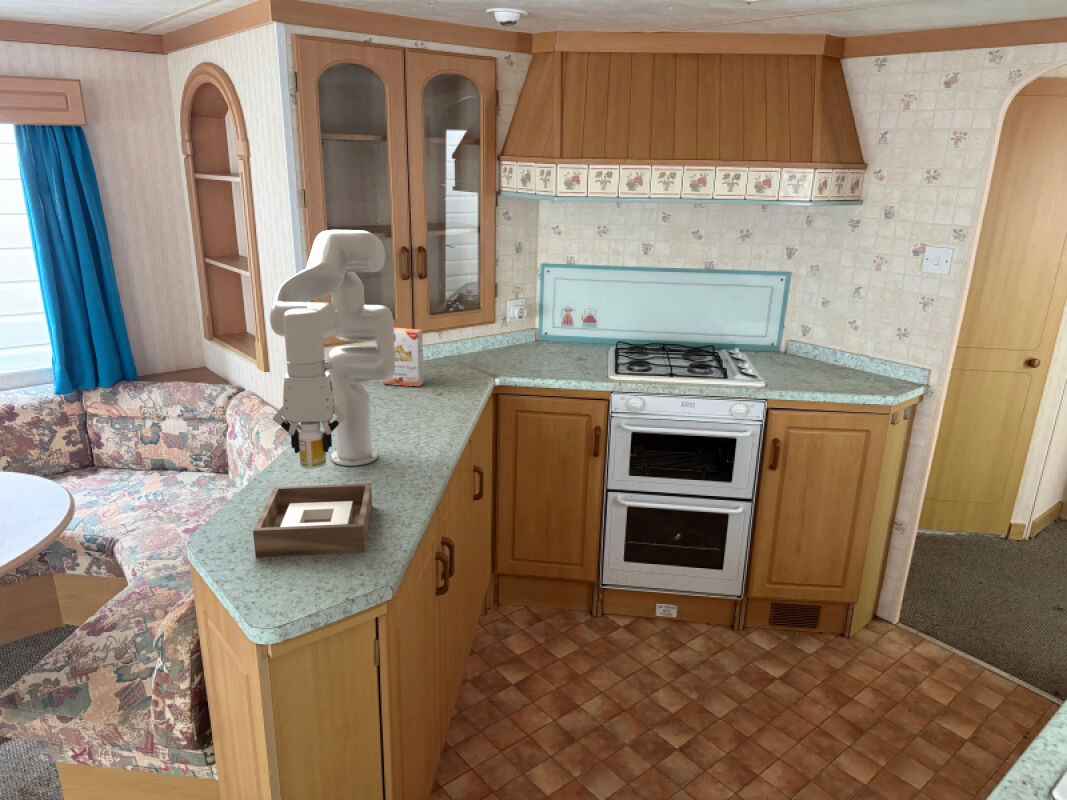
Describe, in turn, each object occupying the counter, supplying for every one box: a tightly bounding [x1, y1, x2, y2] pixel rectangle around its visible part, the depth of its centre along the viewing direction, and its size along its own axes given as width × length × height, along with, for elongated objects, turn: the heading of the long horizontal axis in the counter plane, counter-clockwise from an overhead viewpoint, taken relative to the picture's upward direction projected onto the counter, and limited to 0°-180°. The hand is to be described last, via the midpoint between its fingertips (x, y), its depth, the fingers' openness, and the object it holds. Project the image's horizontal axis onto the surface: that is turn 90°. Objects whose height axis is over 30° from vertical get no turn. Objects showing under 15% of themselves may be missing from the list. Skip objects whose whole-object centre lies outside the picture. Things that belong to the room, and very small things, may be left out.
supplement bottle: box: [298, 422, 327, 470], centre depth 159 cm, size 5×5×10 cm
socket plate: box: [280, 501, 353, 527], centre depth 164 cm, size 14×14×2 cm
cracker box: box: [382, 327, 424, 386], centre depth 274 cm, size 14×6×21 cm, turn 81°
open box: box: [252, 483, 373, 558], centre depth 164 cm, size 22×22×6 cm
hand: (312, 449), depth 159 cm, fingers closed on supplement bottle, 5 cm apart
